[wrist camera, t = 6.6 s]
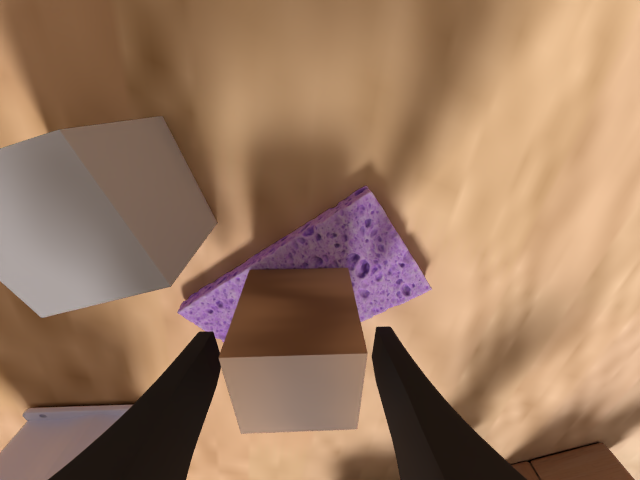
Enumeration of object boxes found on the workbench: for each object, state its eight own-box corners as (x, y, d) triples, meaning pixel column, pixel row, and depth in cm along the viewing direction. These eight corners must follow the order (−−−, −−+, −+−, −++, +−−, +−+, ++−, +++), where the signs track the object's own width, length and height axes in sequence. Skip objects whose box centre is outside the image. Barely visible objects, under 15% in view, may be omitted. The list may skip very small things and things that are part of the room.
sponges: (420, 270, 16) (433, 290, 14) (261, 351, 19) (257, 375, 17) (364, 176, 13) (373, 188, 11) (187, 291, 16) (173, 314, 14)
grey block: (129, 245, 13) (41, 317, 9) (57, 149, 11) (-109, 183, 7) (217, 222, 13) (170, 286, 9) (163, 115, 10) (59, 129, 6)
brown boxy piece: (260, 337, 15) (240, 433, 11) (249, 269, 13) (218, 358, 9) (343, 335, 15) (357, 429, 11) (348, 267, 13) (367, 353, 9)
